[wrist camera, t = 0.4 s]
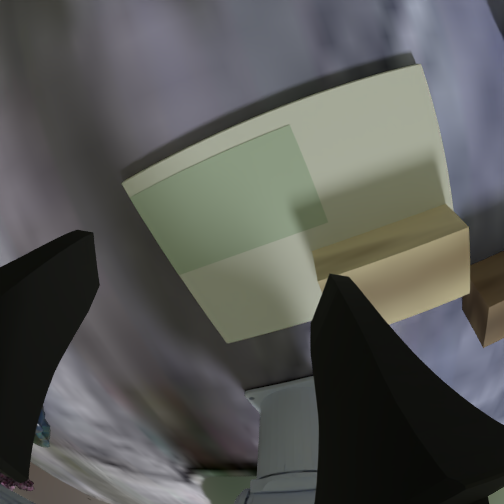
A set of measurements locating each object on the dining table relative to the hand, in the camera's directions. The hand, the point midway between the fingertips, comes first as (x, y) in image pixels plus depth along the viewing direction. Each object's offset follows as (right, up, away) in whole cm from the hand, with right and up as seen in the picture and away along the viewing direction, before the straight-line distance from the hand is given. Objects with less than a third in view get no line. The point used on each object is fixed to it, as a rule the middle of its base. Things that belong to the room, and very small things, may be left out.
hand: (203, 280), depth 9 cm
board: (+5, +3, +10) cm, 11 cm away
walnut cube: (+20, -1, +11) cm, 23 cm away
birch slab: (+10, 0, +10) cm, 14 cm away
